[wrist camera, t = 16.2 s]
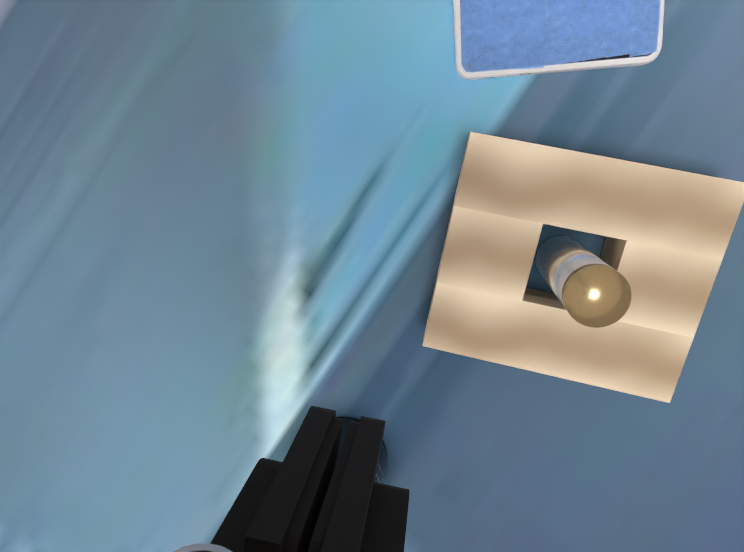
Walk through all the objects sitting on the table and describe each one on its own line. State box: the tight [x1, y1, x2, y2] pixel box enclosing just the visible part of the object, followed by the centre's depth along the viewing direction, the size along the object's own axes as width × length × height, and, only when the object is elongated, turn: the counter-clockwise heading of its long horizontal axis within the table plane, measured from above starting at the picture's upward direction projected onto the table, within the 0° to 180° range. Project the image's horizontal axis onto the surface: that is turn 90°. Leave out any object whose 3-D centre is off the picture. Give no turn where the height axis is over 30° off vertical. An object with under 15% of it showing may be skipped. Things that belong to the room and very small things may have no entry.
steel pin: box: [535, 236, 632, 328], centre depth 31 cm, size 3×3×10 cm
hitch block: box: [423, 132, 744, 403], centre depth 34 cm, size 14×16×4 cm
